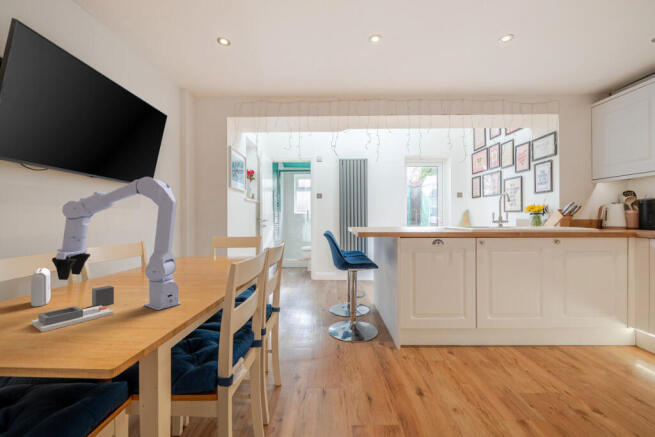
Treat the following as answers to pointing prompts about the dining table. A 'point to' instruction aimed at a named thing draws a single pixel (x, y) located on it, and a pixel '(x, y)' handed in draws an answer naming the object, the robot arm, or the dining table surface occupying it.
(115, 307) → the dining table surface
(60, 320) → the white flat rectangular base
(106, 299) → the gray block
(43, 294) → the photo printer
